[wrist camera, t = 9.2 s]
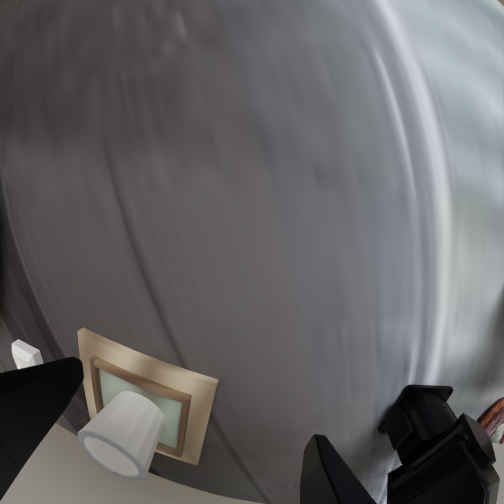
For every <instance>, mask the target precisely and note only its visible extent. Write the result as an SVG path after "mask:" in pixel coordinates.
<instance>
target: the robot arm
mask: <svg viewBox="0 0 504 504" xmlns="http://www.w3.org/2000/svg"><path fill="white" fill-rule="evenodd" d="M83 380H84V370H83V363H82V361H81V360H79V359H78V358H76V357H68V358H64V359H60V360H56V361H52V362H48V363H44V364H39V365H35V366H30V367H26V368H21V369H17V370H12V371H7V372H3V373H0V500H1V499H2V498H3V496H4V495H5V493H6V492H7V490H8V489H9V487H10V485H11V484H12V483H13V481H14V480H15V478H16V477H17V475H18V473H19V472H20V470H21V469H22V468H23V466H24V465H25V463H26V462H27V460H28V459H29V458H30V456H31V455H32V453H33V452H34V451H35V449H36V448H37V446H38V445H39V444H40V442H41V441H42V440H43V438H44V437H45V436H46V434H47V433H48V432H49V430H50V429H51V427H52V426H53V425H54V424H55V422H56V421H57V420H58V418H59V417H60V416H61V414H62V413H63V412H64V411H65V409H66V408H67V406H68V405H69V403H70V402H71V400H72V398H73V397H74V395H75V393H76V392H77V390H78V388H79V387H80V385H81V383H82V382H83ZM410 389H411V390H410ZM452 392H453V388H452V387H451V386H428V385H408V386H407V387H406V388H405V390H404V391H403V393H402V395H401V396H400V398H399V399H398V401H397V402H396V404H395V405H394V407H393V408H392V410H391V411H390V413H389V414H388V416H387V417H386V419H385V420H384V422H383V423H382V424H381V426H380V427H379V429H378V431H379V433H380V434H388V435H389V438H390V441H391V443H392V446H393V449H394V450H395V451H397V452H398V455H399V458H400V461H401V464H403V465H401V466H400V467H398V468H397V469H395V470H392V471H391V472H389V473H388V483H387V504H496V500H497V495H498V489H499V481H500V479H499V476H498V475H497V472H496V471H495V469H494V467H493V466H492V464H493V463H494V462H496V458H495V454H494V450H493V446H492V443H491V439H490V437H489V435H488V434H487V433H486V431H485V430H484V429H483V427H482V426H481V425H480V423H478V422H477V421H475V420H474V419H472V418H471V417H469V416H468V415H466V414H465V413H462V414H461V415H460V416H459V419H457V417H456V416H455V414H454V413H453V411H452V410H451V408H450V407H449V405H448V403H447V400H448V399H449V397H450V396H451V394H452ZM300 504H377V503H376V502H375V501H374V499H373V498H371V496H370V495H369V493H368V492H367V491H366V489H365V488H364V487H363V486H362V484H361V483H360V482H359V480H358V479H357V478H356V476H355V475H354V474H353V472H352V471H351V470H350V468H349V467H348V466H347V464H346V463H345V462H344V460H343V459H342V458H341V456H340V455H339V454H338V452H337V451H336V450H335V448H334V447H333V445H332V444H331V443H330V441H329V440H328V439H327V437H326V436H325V435H319V434H314V435H313V436H312V438H311V439H310V441H309V442H308V444H307V445H306V447H305V450H304V458H303V466H302V474H301V483H300Z"/></svg>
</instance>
